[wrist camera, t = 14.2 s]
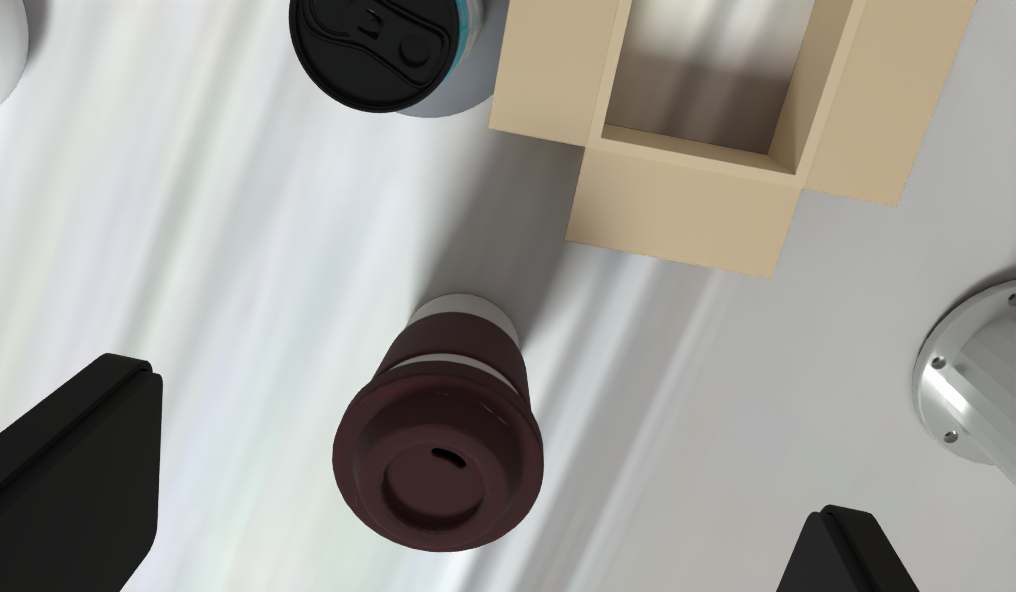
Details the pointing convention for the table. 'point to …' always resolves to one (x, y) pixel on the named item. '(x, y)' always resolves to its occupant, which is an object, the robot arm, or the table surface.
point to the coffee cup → (443, 432)
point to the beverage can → (383, 47)
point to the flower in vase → (12, 45)
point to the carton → (721, 170)
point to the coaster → (469, 70)
